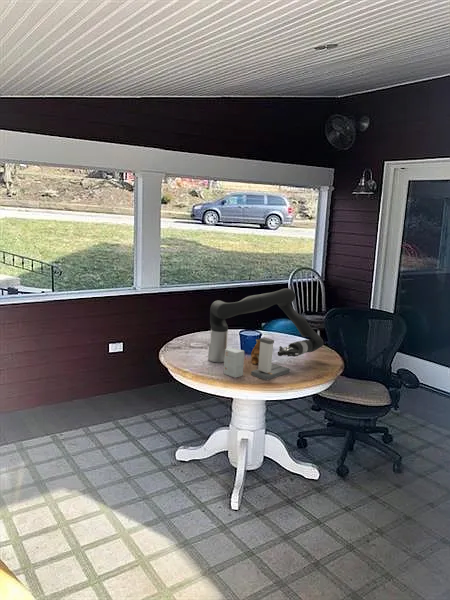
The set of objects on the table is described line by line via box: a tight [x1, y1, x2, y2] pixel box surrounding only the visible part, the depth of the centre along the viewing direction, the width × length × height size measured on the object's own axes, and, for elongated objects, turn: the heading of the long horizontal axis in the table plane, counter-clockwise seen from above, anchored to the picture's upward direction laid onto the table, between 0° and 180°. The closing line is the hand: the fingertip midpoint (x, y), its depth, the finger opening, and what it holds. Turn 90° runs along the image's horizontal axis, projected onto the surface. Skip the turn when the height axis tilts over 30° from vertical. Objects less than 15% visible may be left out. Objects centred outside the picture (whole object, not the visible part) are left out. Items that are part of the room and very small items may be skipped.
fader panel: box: [250, 363, 291, 381], centre depth 257 cm, size 20×10×2 cm, turn 137°
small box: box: [223, 347, 245, 378], centre depth 251 cm, size 8×6×13 cm
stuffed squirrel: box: [250, 339, 260, 366], centre depth 277 cm, size 10×14×13 cm
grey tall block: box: [257, 336, 275, 373], centre depth 252 cm, size 4×6×17 cm, turn 47°
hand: (278, 354), depth 260 cm, fingers closed
